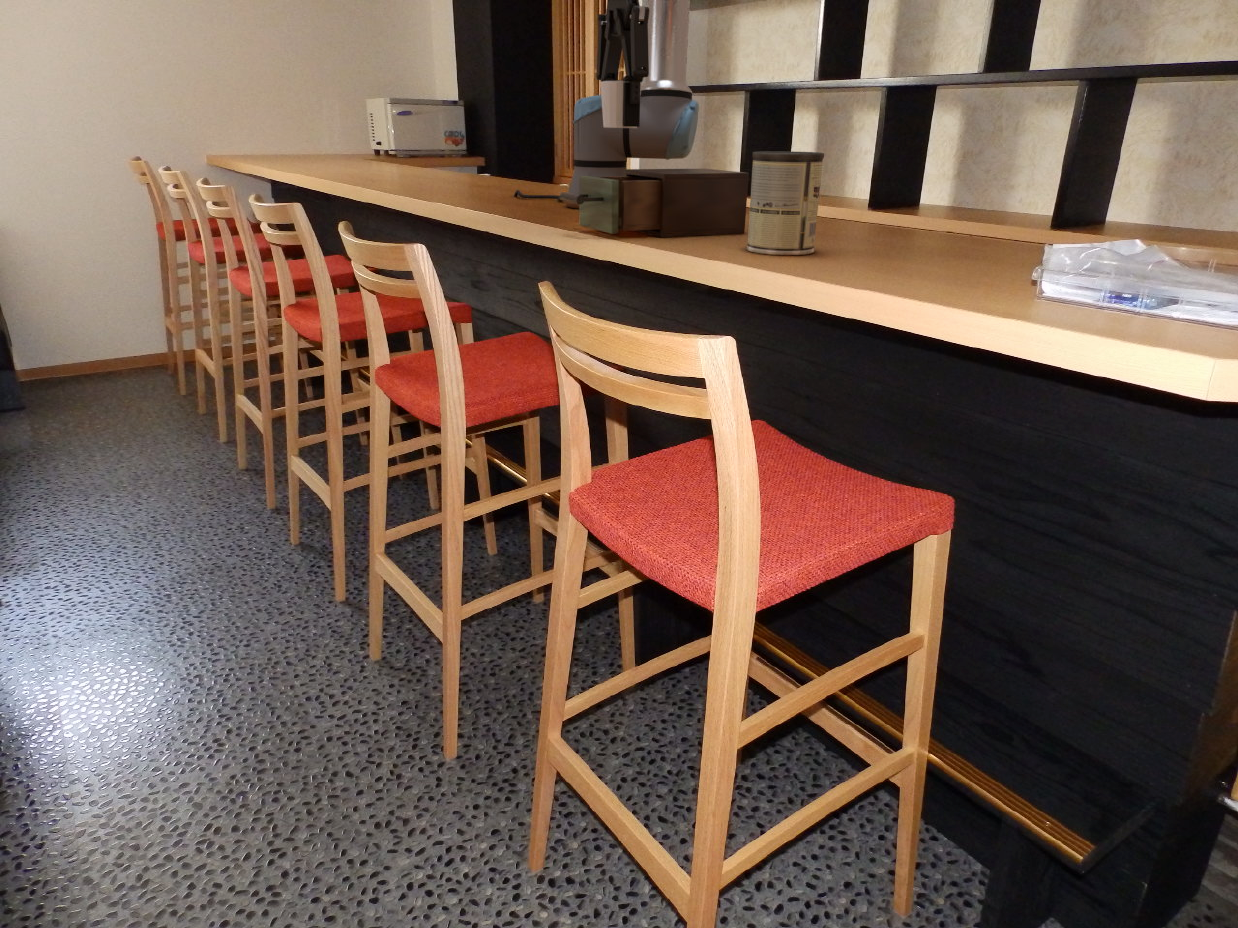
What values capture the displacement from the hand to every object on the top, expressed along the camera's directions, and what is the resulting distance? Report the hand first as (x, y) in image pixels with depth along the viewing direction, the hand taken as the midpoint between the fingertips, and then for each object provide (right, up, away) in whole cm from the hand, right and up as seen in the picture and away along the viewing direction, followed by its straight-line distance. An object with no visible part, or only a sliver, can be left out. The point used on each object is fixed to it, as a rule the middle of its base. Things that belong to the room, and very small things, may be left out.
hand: (620, 126), depth 140 cm
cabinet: (+11, -15, +10) cm, 21 cm away
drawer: (0, -16, +5) cm, 16 cm away
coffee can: (+24, -24, -12) cm, 36 cm away
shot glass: (0, 0, 0) cm, 0 cm away
